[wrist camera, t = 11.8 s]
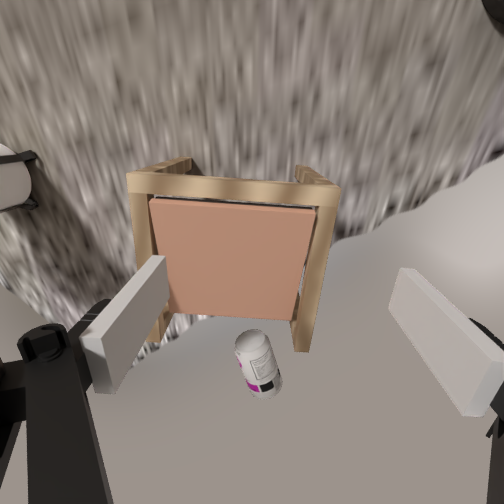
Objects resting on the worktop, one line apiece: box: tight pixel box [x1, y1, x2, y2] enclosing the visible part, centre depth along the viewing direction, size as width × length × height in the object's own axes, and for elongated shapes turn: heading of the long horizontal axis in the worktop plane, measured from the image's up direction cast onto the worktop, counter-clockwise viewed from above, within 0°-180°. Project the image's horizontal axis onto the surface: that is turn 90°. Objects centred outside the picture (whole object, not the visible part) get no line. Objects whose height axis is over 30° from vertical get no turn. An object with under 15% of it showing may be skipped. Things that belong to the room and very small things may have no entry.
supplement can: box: [235, 329, 282, 400], centre depth 63 cm, size 8×8×15 cm
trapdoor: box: [149, 197, 316, 321], centre depth 35 cm, size 18×18×2 cm
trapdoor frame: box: [126, 157, 341, 352], centre depth 43 cm, size 23×23×22 cm
